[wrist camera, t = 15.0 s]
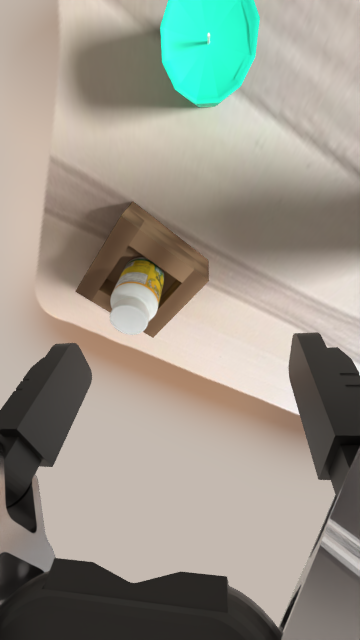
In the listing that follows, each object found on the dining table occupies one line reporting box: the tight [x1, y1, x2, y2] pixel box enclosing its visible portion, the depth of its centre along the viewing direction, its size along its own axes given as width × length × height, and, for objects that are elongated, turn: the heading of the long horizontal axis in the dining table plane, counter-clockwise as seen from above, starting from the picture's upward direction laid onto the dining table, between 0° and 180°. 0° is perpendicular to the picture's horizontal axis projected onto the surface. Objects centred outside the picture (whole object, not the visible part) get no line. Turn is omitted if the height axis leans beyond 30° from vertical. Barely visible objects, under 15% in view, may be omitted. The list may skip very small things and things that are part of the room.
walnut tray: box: [75, 202, 209, 337], centre depth 35 cm, size 12×12×6 cm
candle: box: [160, 0, 260, 107], centre depth 19 cm, size 6×6×12 cm
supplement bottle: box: [110, 257, 164, 335], centre depth 31 cm, size 5×5×10 cm
